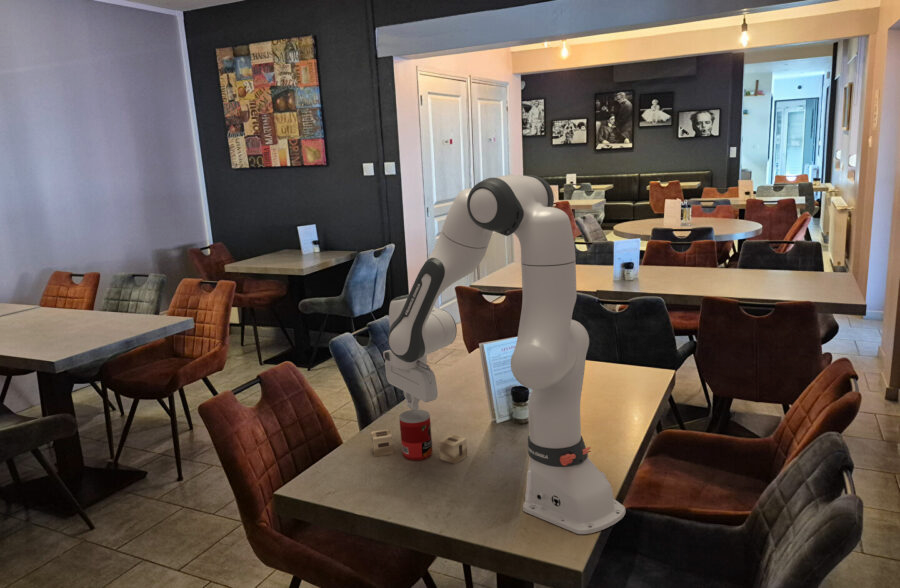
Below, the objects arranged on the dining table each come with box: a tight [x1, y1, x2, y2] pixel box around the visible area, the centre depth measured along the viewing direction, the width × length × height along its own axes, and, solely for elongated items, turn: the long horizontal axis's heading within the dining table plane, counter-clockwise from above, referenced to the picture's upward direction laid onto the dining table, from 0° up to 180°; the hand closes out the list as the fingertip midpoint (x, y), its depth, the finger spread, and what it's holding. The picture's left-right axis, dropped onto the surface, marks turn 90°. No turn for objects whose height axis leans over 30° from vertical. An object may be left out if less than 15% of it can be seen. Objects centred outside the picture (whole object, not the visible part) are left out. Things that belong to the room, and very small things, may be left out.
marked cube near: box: [438, 434, 468, 465], centre depth 166 cm, size 5×5×5 cm
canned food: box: [399, 409, 433, 461], centre depth 169 cm, size 8×8×11 cm
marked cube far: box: [370, 428, 395, 457], centre depth 173 cm, size 5×5×5 cm
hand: (412, 408), depth 168 cm, fingers closed
